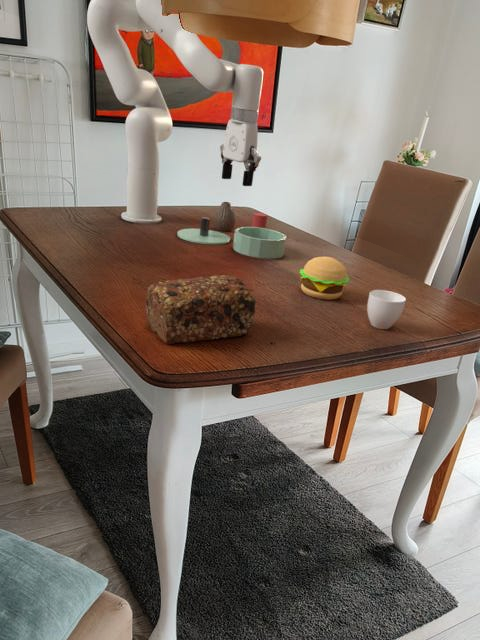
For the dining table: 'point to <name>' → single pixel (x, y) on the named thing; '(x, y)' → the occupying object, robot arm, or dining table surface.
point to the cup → (384, 308)
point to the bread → (200, 308)
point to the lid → (204, 234)
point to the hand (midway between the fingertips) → (236, 182)
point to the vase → (224, 217)
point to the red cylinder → (259, 220)
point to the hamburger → (324, 278)
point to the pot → (259, 242)
